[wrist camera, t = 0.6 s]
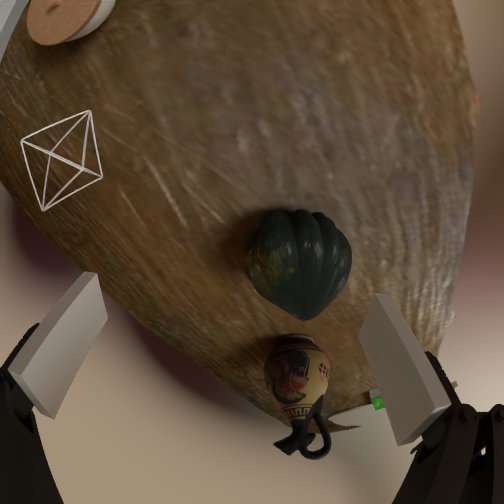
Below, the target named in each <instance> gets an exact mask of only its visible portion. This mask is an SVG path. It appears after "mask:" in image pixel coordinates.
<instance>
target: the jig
mask: <svg viewBox="0 0 504 504" xmlns="http://www.w3.org/2000/svg"><path fill="white" fill-rule="evenodd" d="M28 1H29V0H0V62H1V60H2V57H3V54H4V52H5V49H6V47H7V44H8V42H9V39H10V37H11V35H12V32H13V30H14V28H15V26H16V24H17V22H18V20H19V18H20V16H21V14H22V12H23V10H24V8H25V6H26V4H27V3H28Z"/></svg>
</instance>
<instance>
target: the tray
mask: <svg viewBox="0 0 504 504" xmlns="http://www.w3.org/2000/svg"><path fill="white" fill-rule="evenodd" d="M369 393H370V399H371V402H372V404H373V406H374V408H375V410H378V409H381V408H384V407H385V406H384V403H383V400H382V397H381V394H380V392H379V389H378V388H376V389H372V390H369Z"/></svg>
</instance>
